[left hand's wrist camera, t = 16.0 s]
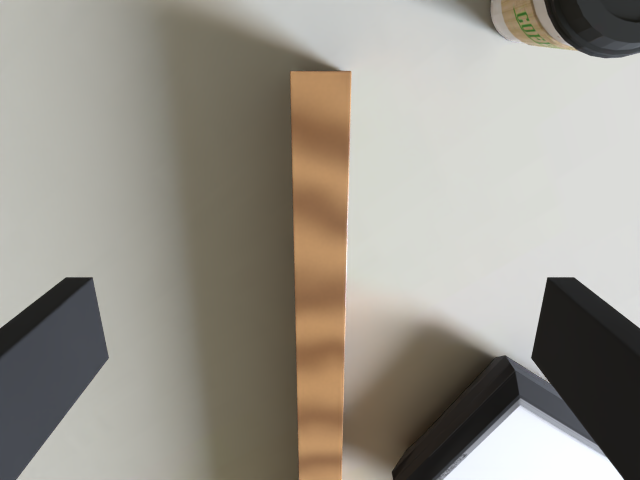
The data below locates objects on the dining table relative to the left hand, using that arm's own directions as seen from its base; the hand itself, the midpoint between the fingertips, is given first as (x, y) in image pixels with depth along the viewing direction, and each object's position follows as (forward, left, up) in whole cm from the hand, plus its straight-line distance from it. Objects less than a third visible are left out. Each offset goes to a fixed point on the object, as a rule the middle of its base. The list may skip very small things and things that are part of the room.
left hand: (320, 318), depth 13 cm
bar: (+16, +18, -31) cm, 39 cm away
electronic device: (+5, +47, -31) cm, 56 cm away
